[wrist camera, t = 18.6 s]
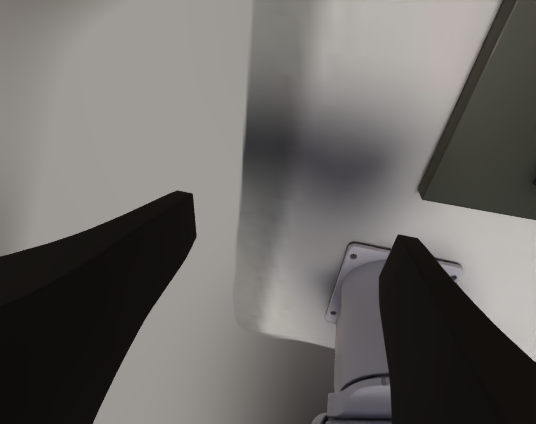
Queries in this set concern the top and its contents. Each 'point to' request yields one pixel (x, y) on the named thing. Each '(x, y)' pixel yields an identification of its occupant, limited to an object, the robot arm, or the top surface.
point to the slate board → (493, 125)
